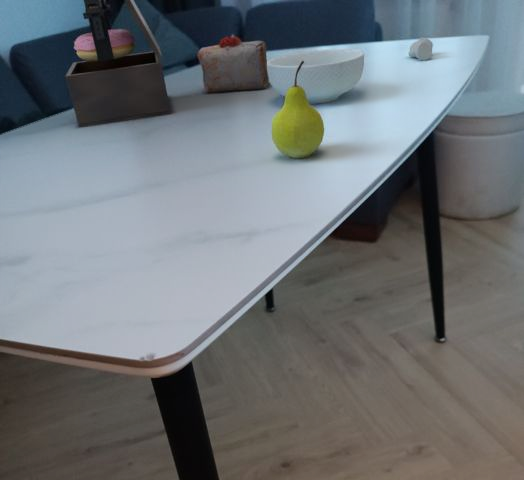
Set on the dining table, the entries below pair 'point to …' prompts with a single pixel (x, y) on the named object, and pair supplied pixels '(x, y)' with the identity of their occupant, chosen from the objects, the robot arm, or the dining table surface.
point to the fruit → (297, 124)
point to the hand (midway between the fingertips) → (107, 55)
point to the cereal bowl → (317, 73)
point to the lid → (144, 28)
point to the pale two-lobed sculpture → (421, 49)
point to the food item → (234, 65)
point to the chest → (118, 89)
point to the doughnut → (119, 41)
